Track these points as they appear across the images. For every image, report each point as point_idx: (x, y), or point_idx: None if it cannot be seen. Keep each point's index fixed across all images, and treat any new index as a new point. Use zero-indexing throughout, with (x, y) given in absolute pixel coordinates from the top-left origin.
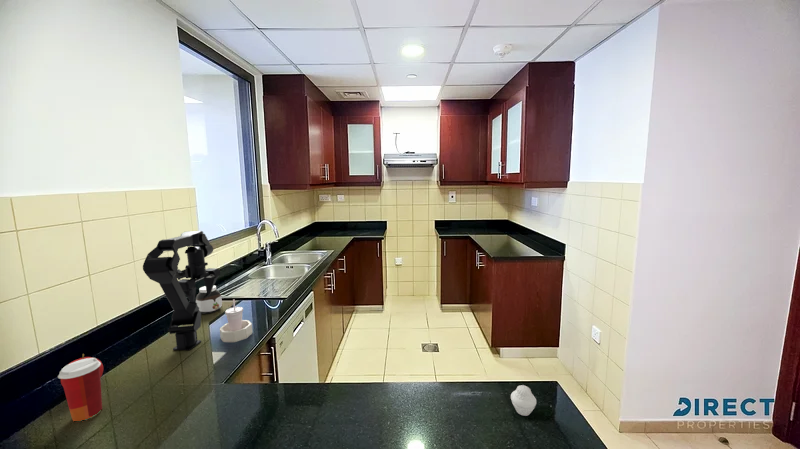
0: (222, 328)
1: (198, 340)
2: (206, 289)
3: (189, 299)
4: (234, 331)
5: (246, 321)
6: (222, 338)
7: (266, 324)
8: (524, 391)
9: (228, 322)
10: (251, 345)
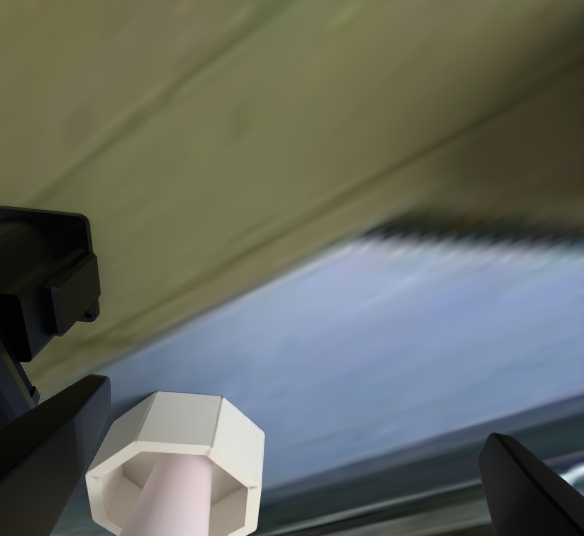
0: (148, 446)
1: (92, 306)
2: (549, 511)
3: (21, 428)
4: (102, 521)
5: (245, 521)
6: (111, 431)
7: (312, 520)
8: None
9: (127, 523)
10: (98, 529)
